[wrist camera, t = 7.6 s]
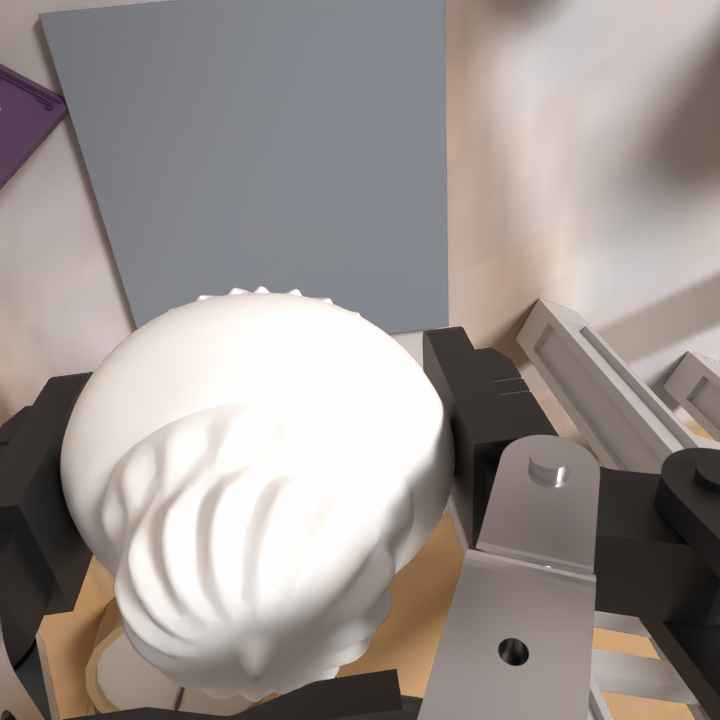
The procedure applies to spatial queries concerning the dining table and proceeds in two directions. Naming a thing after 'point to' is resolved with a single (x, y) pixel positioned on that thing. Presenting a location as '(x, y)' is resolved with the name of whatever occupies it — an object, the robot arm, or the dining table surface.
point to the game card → (24, 119)
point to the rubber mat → (266, 149)
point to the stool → (620, 460)
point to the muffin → (256, 486)
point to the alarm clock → (142, 678)
